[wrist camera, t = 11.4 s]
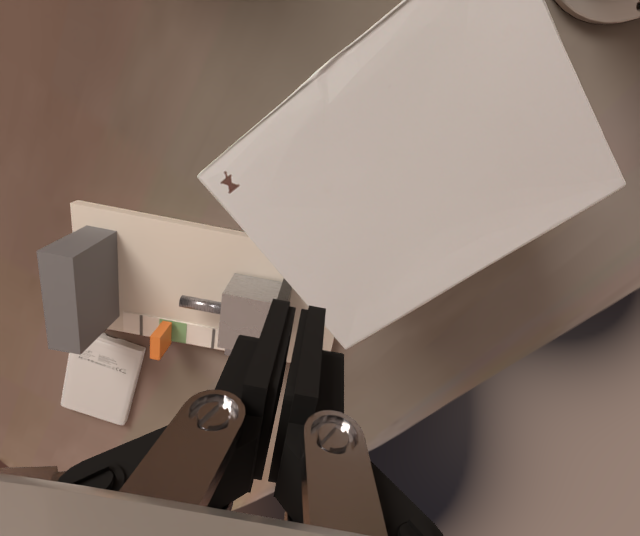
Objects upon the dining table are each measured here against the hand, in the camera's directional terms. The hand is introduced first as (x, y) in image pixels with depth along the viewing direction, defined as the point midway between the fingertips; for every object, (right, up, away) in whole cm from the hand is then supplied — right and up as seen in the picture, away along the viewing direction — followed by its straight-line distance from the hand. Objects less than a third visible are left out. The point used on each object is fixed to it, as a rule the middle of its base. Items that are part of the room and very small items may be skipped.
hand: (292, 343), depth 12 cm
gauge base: (-11, 0, +30) cm, 32 cm away
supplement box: (+6, +14, +23) cm, 28 cm away
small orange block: (-16, -5, +31) cm, 35 cm away
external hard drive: (-26, -10, +37) cm, 46 cm away
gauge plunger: (-8, -2, +29) cm, 31 cm away
